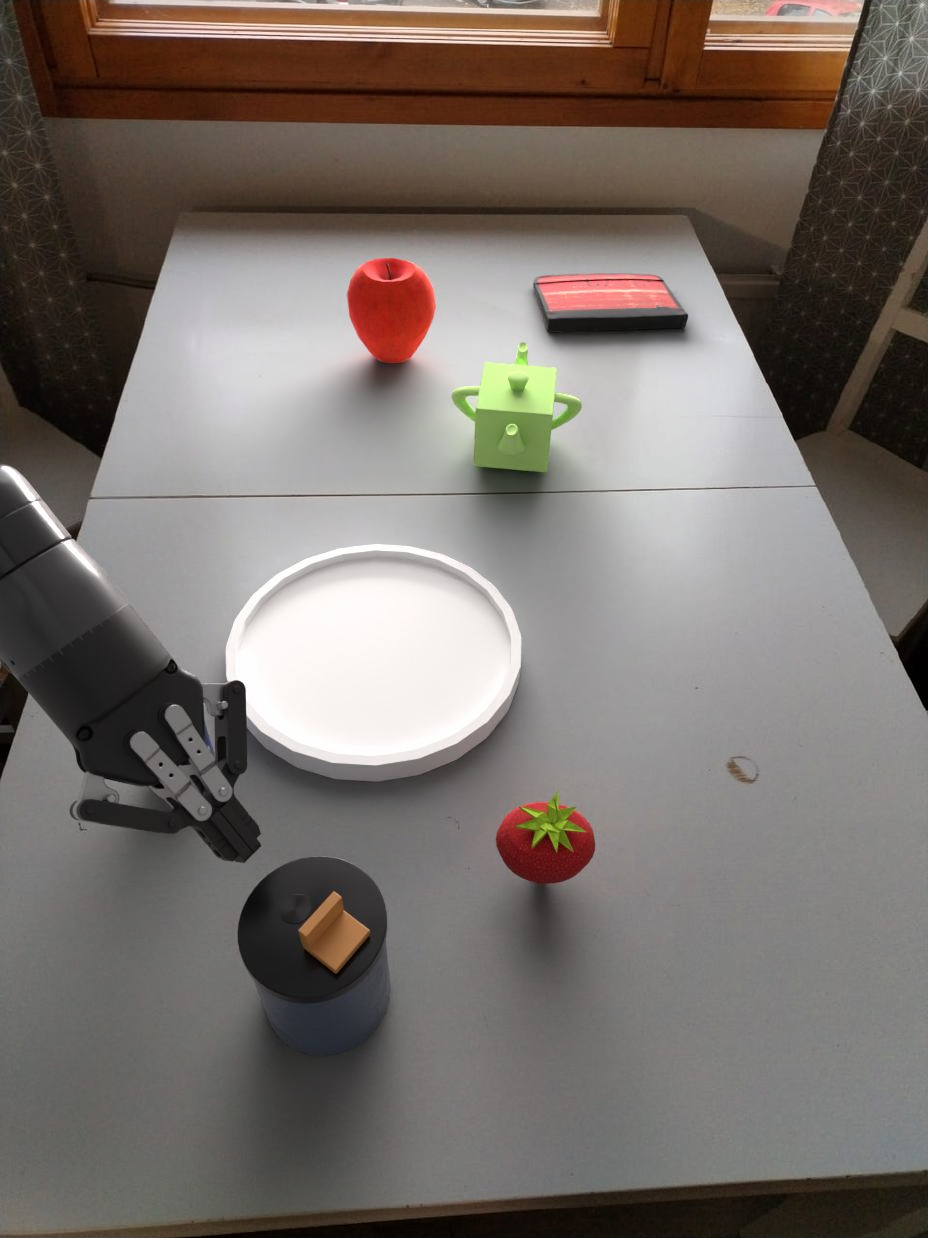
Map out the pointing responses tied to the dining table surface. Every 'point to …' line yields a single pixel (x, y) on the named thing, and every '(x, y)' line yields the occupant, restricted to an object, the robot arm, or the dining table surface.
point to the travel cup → (298, 982)
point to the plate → (375, 661)
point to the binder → (607, 302)
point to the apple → (391, 307)
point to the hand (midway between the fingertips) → (248, 853)
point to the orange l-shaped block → (332, 934)
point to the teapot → (515, 413)
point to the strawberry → (545, 841)
